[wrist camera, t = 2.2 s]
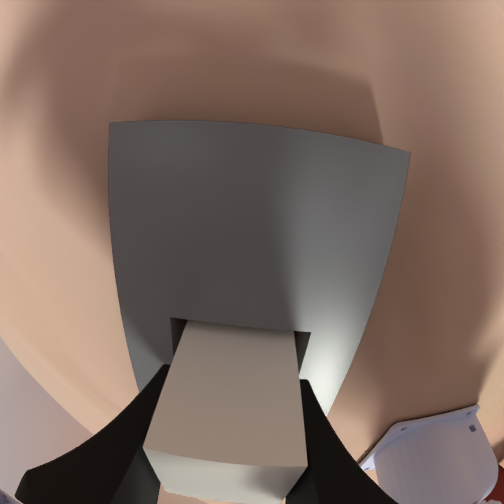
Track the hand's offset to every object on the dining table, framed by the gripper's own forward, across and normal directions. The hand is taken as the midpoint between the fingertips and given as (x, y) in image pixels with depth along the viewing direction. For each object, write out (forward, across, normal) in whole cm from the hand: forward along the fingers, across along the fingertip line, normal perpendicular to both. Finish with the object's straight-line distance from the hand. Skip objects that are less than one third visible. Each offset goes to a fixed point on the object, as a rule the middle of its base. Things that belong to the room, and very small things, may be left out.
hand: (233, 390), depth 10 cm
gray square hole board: (+3, 0, 0) cm, 3 cm away
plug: (+3, 0, 0) cm, 3 cm away
